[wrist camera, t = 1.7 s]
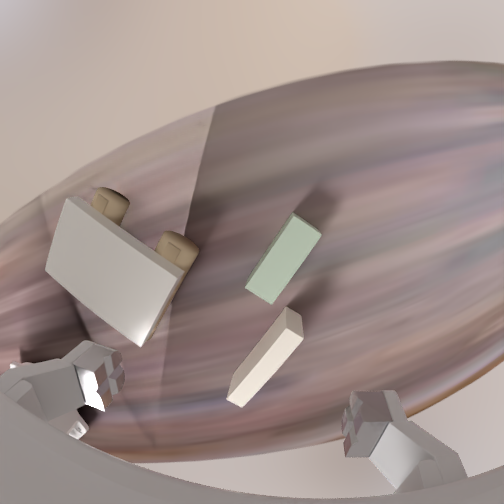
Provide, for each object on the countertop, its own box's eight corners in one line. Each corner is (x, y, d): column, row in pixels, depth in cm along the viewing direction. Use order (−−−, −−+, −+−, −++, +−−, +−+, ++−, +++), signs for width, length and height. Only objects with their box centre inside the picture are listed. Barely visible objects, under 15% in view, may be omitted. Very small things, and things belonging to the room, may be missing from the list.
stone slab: (148, 337, 29) (140, 347, 27) (55, 265, 28) (44, 270, 26) (184, 271, 27) (177, 278, 25) (78, 196, 26) (66, 198, 24)
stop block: (247, 380, 34) (242, 407, 29) (233, 373, 33) (226, 399, 29) (301, 315, 31) (304, 338, 26) (286, 306, 31) (286, 328, 26)
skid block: (272, 291, 31) (271, 304, 27) (248, 276, 31) (244, 287, 27) (317, 228, 29) (322, 234, 25) (292, 211, 29) (294, 215, 25)
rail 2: (157, 330, 33) (143, 347, 29) (130, 311, 33) (114, 326, 29) (203, 248, 30) (192, 258, 26) (172, 228, 30) (156, 234, 26)
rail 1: (99, 288, 33) (81, 300, 29) (77, 270, 33) (58, 280, 29) (136, 204, 30) (117, 207, 26) (110, 186, 30) (89, 188, 26)
